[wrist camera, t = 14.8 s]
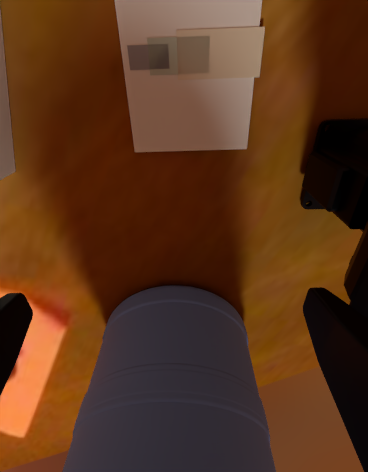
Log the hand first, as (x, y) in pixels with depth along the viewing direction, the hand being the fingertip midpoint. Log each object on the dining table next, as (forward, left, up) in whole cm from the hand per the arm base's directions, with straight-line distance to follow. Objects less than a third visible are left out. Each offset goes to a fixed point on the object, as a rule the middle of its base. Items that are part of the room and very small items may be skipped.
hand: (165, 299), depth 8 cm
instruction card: (-1, -7, -13) cm, 15 cm away
